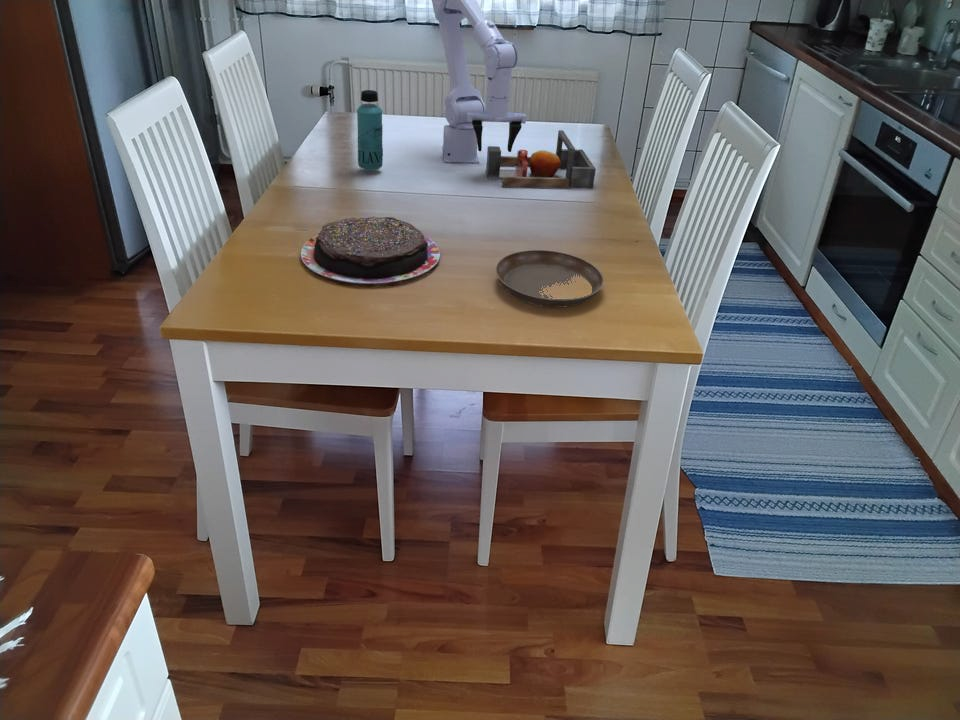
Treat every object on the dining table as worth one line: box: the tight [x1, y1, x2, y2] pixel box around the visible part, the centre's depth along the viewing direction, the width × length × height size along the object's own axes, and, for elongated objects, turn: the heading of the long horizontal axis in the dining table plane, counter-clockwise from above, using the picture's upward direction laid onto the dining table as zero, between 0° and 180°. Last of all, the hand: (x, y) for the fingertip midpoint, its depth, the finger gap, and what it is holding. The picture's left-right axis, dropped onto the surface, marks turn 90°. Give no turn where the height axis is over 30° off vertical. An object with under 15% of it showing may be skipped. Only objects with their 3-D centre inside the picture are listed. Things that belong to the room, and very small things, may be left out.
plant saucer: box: [495, 249, 605, 308], centre depth 144 cm, size 21×21×3 cm
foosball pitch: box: [500, 129, 597, 189], centre depth 195 cm, size 24×17×10 cm
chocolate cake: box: [300, 216, 441, 288], centre depth 150 cm, size 28×28×7 cm
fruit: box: [529, 149, 561, 178], centre depth 196 cm, size 8×8×8 cm
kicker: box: [485, 145, 529, 180], centre depth 194 cm, size 10×10×7 cm
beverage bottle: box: [356, 89, 384, 171], centre depth 187 cm, size 6×7×20 cm
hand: (494, 150), depth 192 cm, fingers open, 7 cm apart
